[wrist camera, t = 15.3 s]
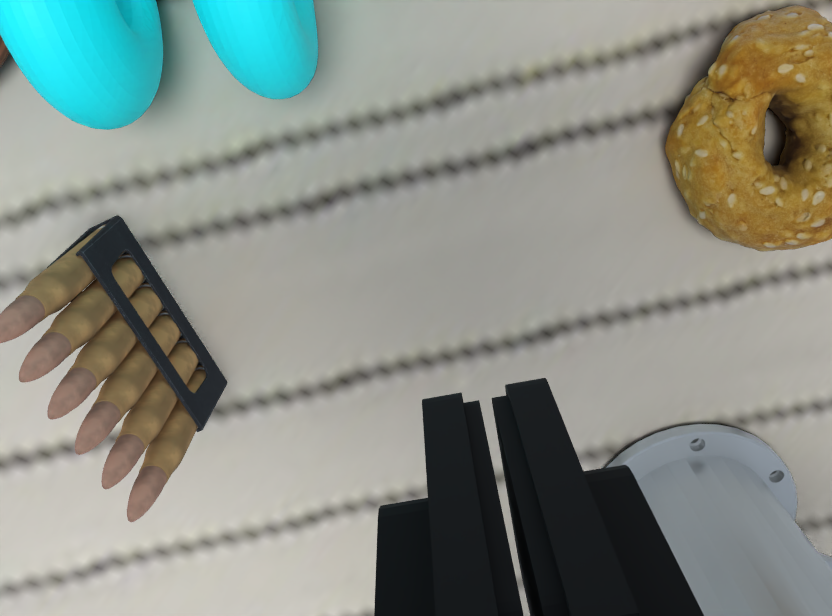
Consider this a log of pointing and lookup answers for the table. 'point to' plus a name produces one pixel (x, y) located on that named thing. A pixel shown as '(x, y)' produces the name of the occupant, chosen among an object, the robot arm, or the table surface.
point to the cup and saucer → (3, 52)
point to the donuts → (151, 50)
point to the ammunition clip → (119, 356)
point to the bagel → (761, 134)
